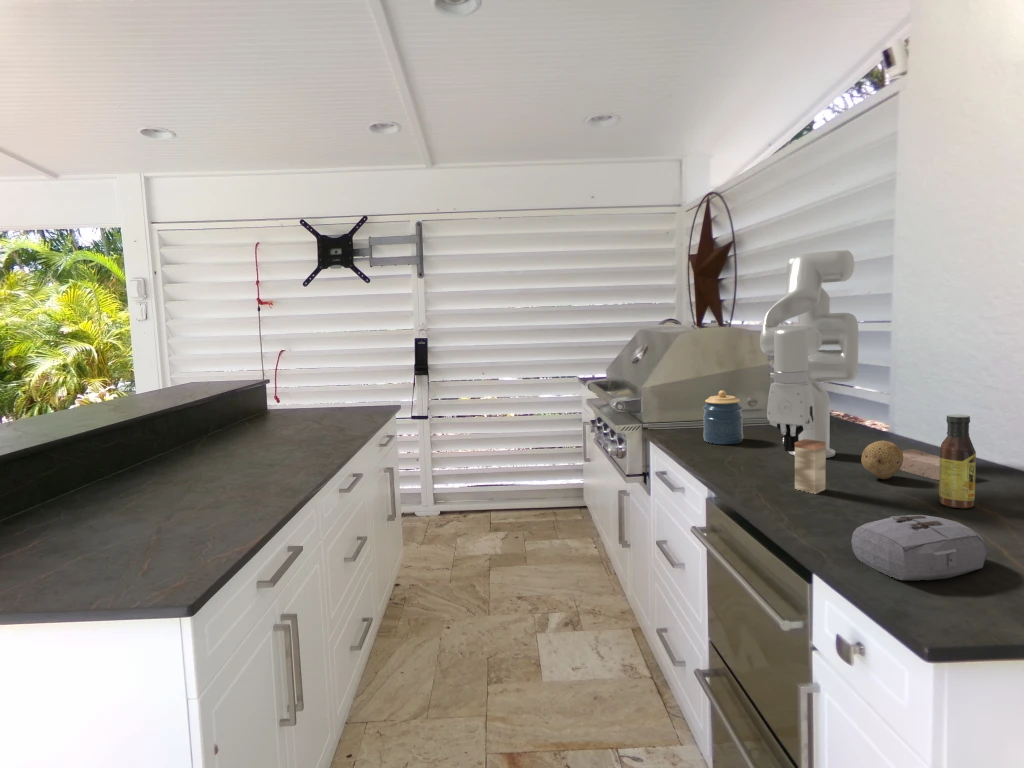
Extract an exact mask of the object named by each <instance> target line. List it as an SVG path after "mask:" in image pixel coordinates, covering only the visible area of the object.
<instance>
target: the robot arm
mask: <svg viewBox="0 0 1024 768" xmlns="http://www.w3.org/2000/svg"><path fill="white" fill-rule="evenodd" d="M854 270H855V259H854V256H853V254H852V252H851V251H850V250H848V249H843V250H829V251H820V252H808V253H802V254H798V255H795V256H792V257H791V258H789V260H788V261H787V265H786V271H787V275H788V277H787V283H786V289H785V296H783V297H782V298H780V299H779V300H778V301H776V302H775V303H774V304H773V305H772V306H771V307H770V308H769V310H767V311H766V314H765V315H764V317H763V321H762V325H761V330H760V335H759V347H760V350H761V351H762V353H763V354H765V355H767V356H774V360H773V361H774V362H773V363H774V365H773V366H774V367H773V372H770V374H769V377H770V378H771V379H773V382H772V383H770V386H769V391H768V397H767V408H766V410H767V411H766V414H767V415H766V417H767V420H768V421H769V425H770V426H773V427H775V428H778V429H779V431H780V433H781V435H782V436H783V438H782V444H783V447H784V451H785V452H788V453H789V454H790V455H792V456H794V457H795V442H797V441H801V440H804V439H809V440H817V441H824V442H826V459H827V458H828V459H829V458H831V457H834V456H835V455H836V450H835V449H833V448H830V422H831V421H830V419H831V418H830V408H831V407H830V406H831V405H830V401H831V400H830V396H829V395H830V394H829V393H828V391H827V390H826V389H825V388H824V387H823V386H822V384H821V383H850V382H853V381H854V380H855V379H856V378H857V376H858V370H859V322H858V320H857V317H856V316H855V315H854V314H852V313H850V312H831V311H830V304H831V300H830V296H829V294H828V292H827V291H826V290H825V289H824V288H823V287H822V285H823V284H824V283H838V282H841V283H842V282H846V281H848V280H849V279H850V278H852V276H853V273H854ZM794 317H797V325H792V326H791V325H789V326H784V325H783V326H779V325H781V324H782V323H783V322H785V321H788V320H790V319H792V318H794ZM822 346H837V347H839V348H840V349H820V348H821V347H822Z"/></svg>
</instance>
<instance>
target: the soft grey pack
mask: <svg viewBox="0 0 1024 768" xmlns="http://www.w3.org/2000/svg"><path fill="white" fill-rule="evenodd" d="M851 549H852V552H853V553H854V555H855V557H856V559H857V560H859V562H861V563H862V562H863V563H865V564H866V565H868V566H870V567H872V568H874V569H876V570H878V571H880V572H882V573H884V574H886V575H888V576H890V577H893V578H892V579H894V578H895V579H894V580H899V581H920V580H926V581H935V580H942V579H951V578H954V577H958V576H961V575H965V574H968V573H971V572H974V571H977V570H980V569H983V568H984V564H985V562H986V559H987V557H988V554H989V550H988V549H989V548H988V547H987V543H986V542H985V540H984V538H983V536H982V535H981V534H979V533H978V532H976V531H975V530H974V529H972V528H970V527H968V526H966V525H964V524H962V523H960V522H958V521H955V520H951V519H947V518H943V517H939V516H938V517H937V516H931V515H924V514H914V515H913V514H907V515H894V516H892V515H891V516H889V517H887V518H882V519H879V520H874V521H870V522H866V523H864V524H862V525H860V526H858V527H856V528H855V530H854V531H853V532H852V536H851ZM863 563H862V564H863ZM866 565H865V566H866ZM868 566H867V567H868ZM870 567H869V568H870ZM872 568H871V569H872ZM882 573H881V574H882ZM884 574H883V575H884ZM886 575H885V576H886ZM888 576H887V577H888ZM890 577H889V578H890Z"/></svg>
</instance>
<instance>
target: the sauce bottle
mask: <svg viewBox="0 0 1024 768" xmlns="http://www.w3.org/2000/svg"><path fill="white" fill-rule="evenodd" d="M946 423H947V431H946V437H945V438H944V440H943V441H942V442H941V444H940V447H939V448H940V456H939V457H940V474H939V480H938V482H939V484H938V486H939V487H938V490H939V492H938V496H939V503H940V504H941V505H943V506H945V507H947V508H955V509H970V508H972V507H974V505H975V498H976V497H975V496H976V470H977V469H976V465H977V464H976V463H977V462H976V460H977V457H976V456H977V452H976V450H975V447H974V444H973V442H972V440H971V438H970V433H969V432H970V423H971V416H970V415H966V414H947V415H946Z"/></svg>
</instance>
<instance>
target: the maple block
mask: <svg viewBox="0 0 1024 768" xmlns="http://www.w3.org/2000/svg"><path fill="white" fill-rule="evenodd" d="M826 459H827V458H826V442H824V441H817V440H809V439H804V440H801V441H797V442H795V456H794V490H795V489H797V490H796V491H798V490H801V491H800V492H803V491H805V493H808V492H809V493H808V494H813V493H814V494H815V495H816V494H819V493H821V492H823V491H825V490H826V466H827V465H826V462H827V461H826ZM814 494H813V495H814Z"/></svg>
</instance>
